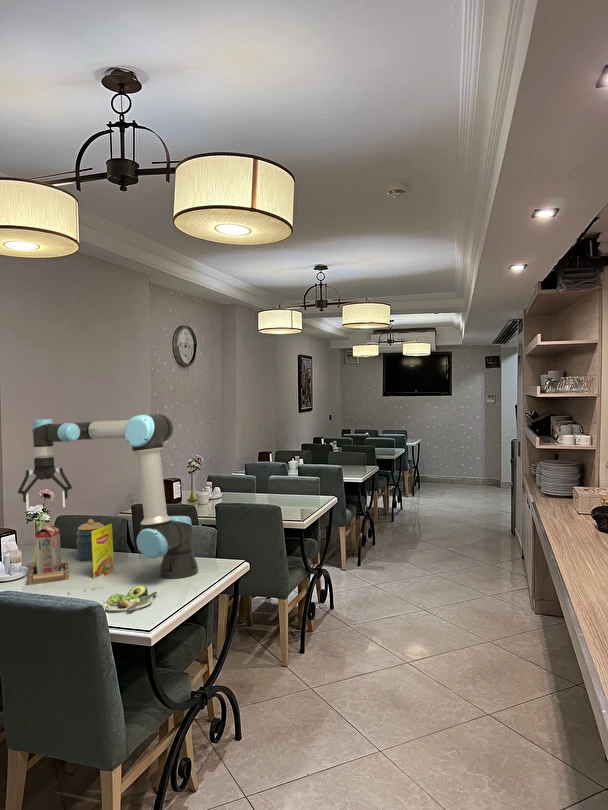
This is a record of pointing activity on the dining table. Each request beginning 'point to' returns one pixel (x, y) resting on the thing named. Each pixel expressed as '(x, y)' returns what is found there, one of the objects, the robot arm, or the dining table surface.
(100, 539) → the food package
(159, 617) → the dining table surface
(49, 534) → the juice carton
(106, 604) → the salad plate
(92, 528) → the canister
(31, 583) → the walnut rack
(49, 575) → the upper oak offcut
